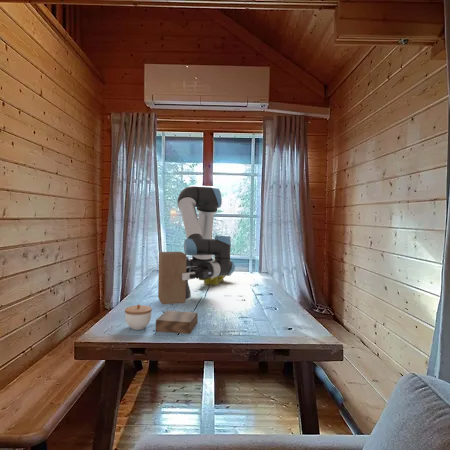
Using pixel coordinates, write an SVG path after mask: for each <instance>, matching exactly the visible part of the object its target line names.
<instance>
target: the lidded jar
mask: <svg viewBox="0 0 450 450" xmlns="http://www.w3.org/2000/svg"><path fill="white" fill-rule="evenodd" d="M152 310H153V309H152V306H149V305H143V304H140V303H137V305H131V306H127V307H126V308H124V317H125V322H126V324H127V325H128V326H129V328H130V329H131V330H133V331H134V330H138V331H139V330H143V329H146V327H147V326H148V325H149V324H150V322H151V318H152Z"/></svg>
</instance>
